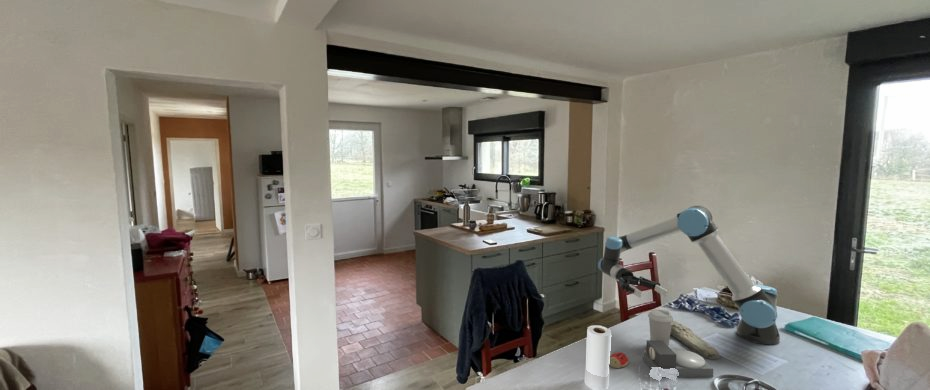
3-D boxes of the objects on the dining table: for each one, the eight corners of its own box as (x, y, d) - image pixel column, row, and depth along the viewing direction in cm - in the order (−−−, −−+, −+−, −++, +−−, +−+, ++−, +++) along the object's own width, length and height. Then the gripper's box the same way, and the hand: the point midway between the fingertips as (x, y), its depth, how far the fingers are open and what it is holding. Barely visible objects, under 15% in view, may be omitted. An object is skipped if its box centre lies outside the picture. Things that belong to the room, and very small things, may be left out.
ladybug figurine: (603, 364, 148) (603, 356, 148) (616, 356, 154) (616, 347, 154) (620, 371, 143) (620, 362, 142) (632, 362, 149) (632, 353, 149)
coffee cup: (675, 353, 155) (676, 317, 154) (650, 351, 157) (651, 316, 156) (668, 342, 164) (669, 308, 163) (644, 340, 166) (645, 307, 165)
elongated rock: (702, 364, 149) (726, 364, 150) (704, 352, 149) (728, 351, 150) (651, 322, 184) (670, 322, 185) (652, 312, 183) (672, 312, 184)
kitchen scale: (694, 359, 150) (695, 339, 150) (713, 376, 138) (714, 355, 138) (642, 359, 151) (643, 339, 150) (656, 376, 139) (657, 355, 138)
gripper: (642, 281, 189) (675, 301, 169) (598, 282, 182) (627, 303, 162) (644, 267, 188) (678, 285, 167) (600, 267, 181) (630, 286, 161)
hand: (653, 294), depth 165 cm, fingers open, 13 cm apart
